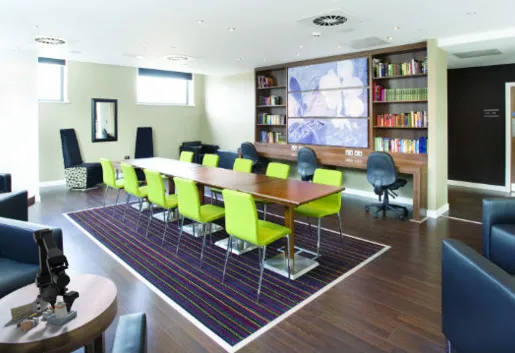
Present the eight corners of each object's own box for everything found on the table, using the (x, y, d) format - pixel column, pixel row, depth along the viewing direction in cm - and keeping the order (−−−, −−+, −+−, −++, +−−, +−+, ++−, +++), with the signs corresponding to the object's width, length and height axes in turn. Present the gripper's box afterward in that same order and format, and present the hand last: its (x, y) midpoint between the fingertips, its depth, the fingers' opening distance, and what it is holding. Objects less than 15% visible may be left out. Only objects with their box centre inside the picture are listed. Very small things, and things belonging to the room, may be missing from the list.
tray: (46, 322, 173) (46, 317, 173) (63, 312, 182) (63, 307, 182) (60, 325, 170) (60, 321, 170) (77, 315, 179) (76, 310, 179)
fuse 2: (49, 313, 181) (48, 305, 180) (54, 310, 184) (54, 302, 183) (54, 314, 180) (53, 306, 179) (59, 311, 183) (58, 303, 182)
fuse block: (16, 326, 169) (16, 321, 169) (47, 309, 184) (46, 305, 184) (27, 329, 167) (27, 324, 167) (57, 312, 182) (57, 307, 181)
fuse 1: (21, 329, 167) (20, 321, 166) (27, 326, 170) (26, 318, 169) (25, 330, 166) (24, 322, 165) (31, 327, 169) (30, 319, 168)
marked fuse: (55, 318, 175) (54, 302, 174) (62, 314, 178) (60, 299, 177) (61, 320, 174) (60, 304, 172) (68, 316, 177) (66, 300, 176)
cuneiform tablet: (41, 315, 180) (12, 323, 173) (40, 313, 184) (11, 321, 177) (39, 300, 180) (10, 308, 173) (38, 299, 184) (10, 306, 177)
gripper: (28, 284, 169) (31, 315, 171) (58, 290, 162) (61, 322, 165) (49, 274, 179) (52, 304, 182) (78, 280, 173) (81, 310, 175)
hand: (61, 310), depth 175 cm, fingers open, 9 cm apart
